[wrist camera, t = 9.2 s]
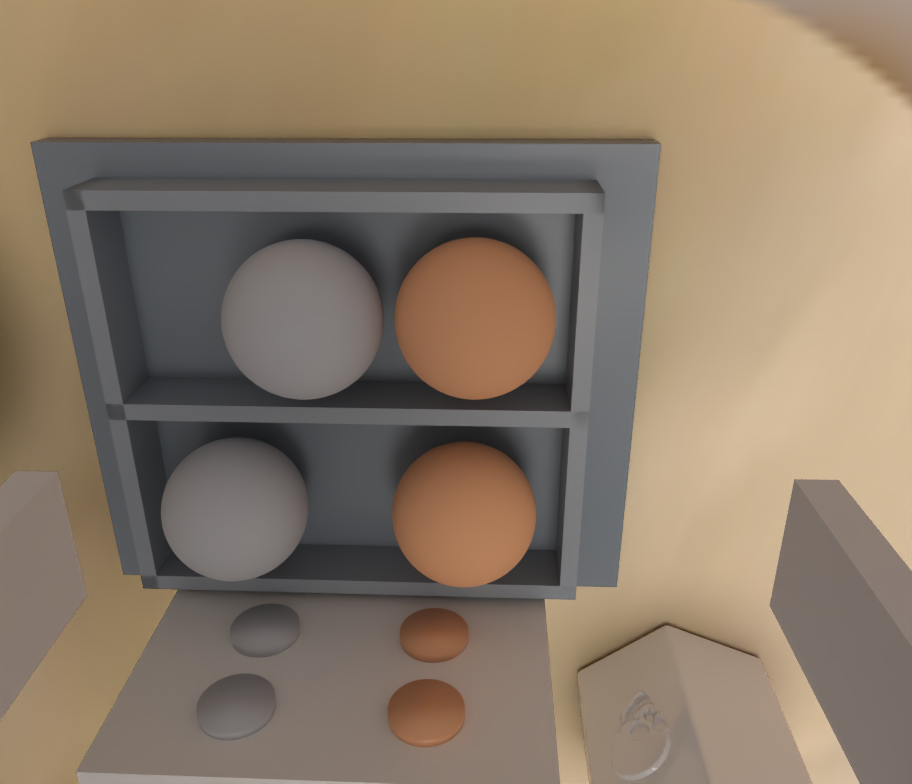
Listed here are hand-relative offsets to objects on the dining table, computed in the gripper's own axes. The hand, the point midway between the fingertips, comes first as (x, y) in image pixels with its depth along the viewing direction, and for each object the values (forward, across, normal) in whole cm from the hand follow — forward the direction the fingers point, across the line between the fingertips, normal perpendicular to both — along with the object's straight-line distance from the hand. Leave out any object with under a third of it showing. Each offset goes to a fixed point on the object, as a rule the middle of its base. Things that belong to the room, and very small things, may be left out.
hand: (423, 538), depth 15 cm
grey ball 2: (+14, -7, -7) cm, 17 cm away
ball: (+14, +1, 0) cm, 14 cm away
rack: (+15, -3, -3) cm, 16 cm away
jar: (+15, +10, -19) cm, 26 cm away
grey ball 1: (+13, -7, 0) cm, 14 cm away
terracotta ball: (+14, +1, -7) cm, 16 cm away
